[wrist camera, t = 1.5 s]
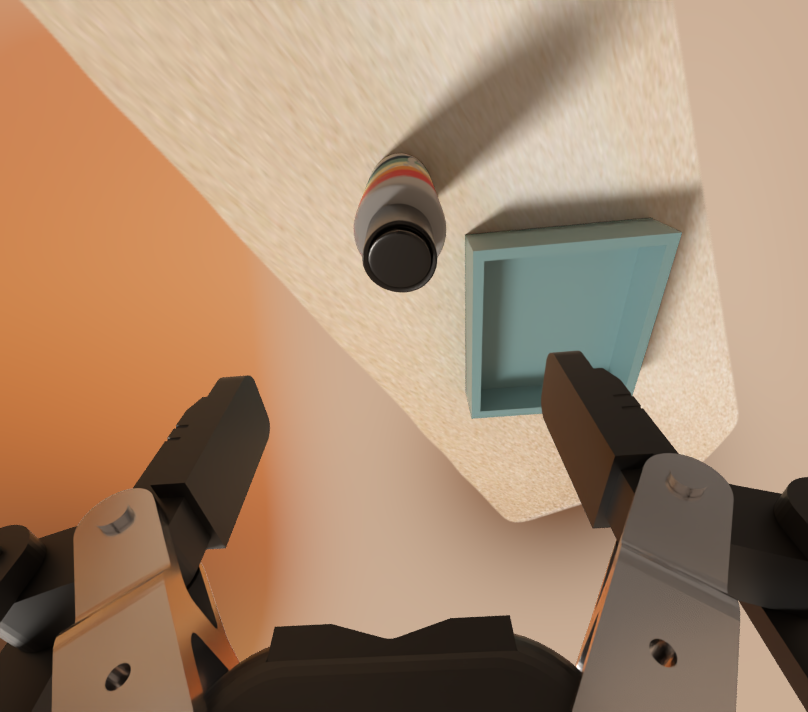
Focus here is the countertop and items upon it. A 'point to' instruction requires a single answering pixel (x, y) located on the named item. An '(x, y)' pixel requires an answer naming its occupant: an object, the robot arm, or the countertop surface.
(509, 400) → the tray
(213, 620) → the robot arm
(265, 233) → the countertop surface
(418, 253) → the lotion bottle
